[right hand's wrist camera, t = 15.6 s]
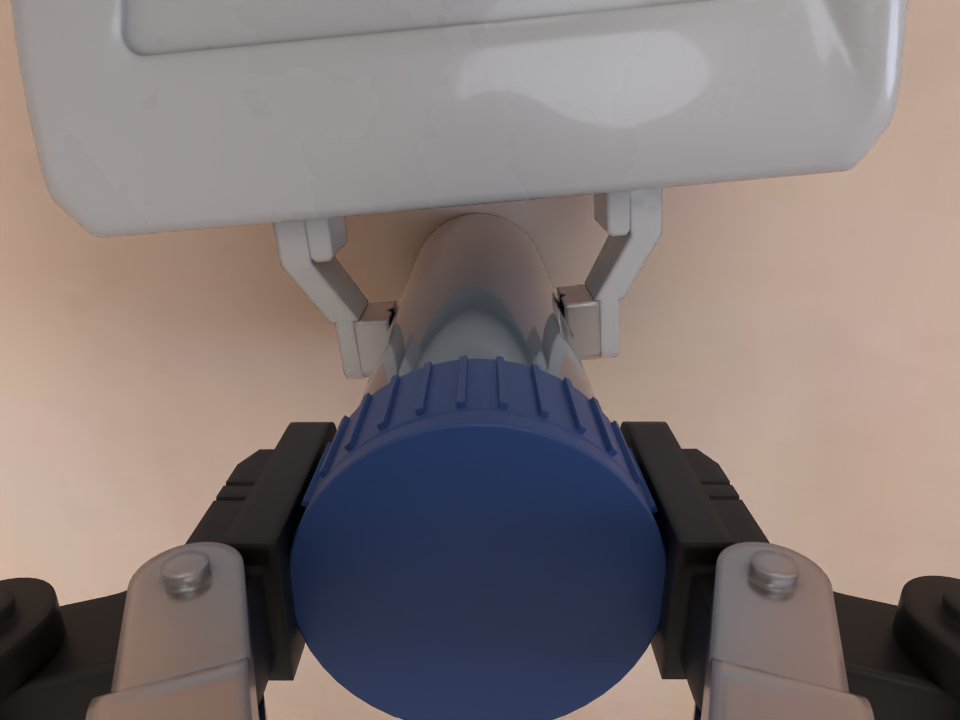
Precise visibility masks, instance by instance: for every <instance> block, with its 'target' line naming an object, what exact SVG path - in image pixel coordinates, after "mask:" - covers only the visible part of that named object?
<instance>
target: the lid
mask: <svg viewBox="0 0 960 720" xmlns="http://www.w3.org/2000/svg"><path fill="white" fill-rule="evenodd" d="M301 506H304V507H306V509H305V512H304V514H303V517H302V519H301V521H300V524H299V526H298V528H297V531H296V533H295V537H294V541H293V544H292V548H291V551H290V560H289V564H290V575H291V583H292V591H293V599H294V607H295V615H296V621H297V625H298V628H299V630H300V633H301V635H302V637H303V638H304V640H305V642H306V644H307V646H308V647H309V649H310V651H311V652H312V653H313V655H314V656H315V657H316V659H317V660H318V661H319V663H320V664H321V665H322V667H323V668H324V669H325V670H326V671H327V672H328V673H329V674H330V675H331V676H332V677H333V678H334V679H335V680H336V681H337V682H338V683H339V684H341V685H342V686H343V687H345V688H346V689H347V690H348V691H350V692H351V693H352V694H353V695H355V696H356V697H358V698H360V699H361V700H363V701H365V702H366V703H368V704H369V705H371V706H373V707H375V708H377V709H379V710H381V711H383V712H385V713H387V714H390V715H392V716H394V717H397V718H400V719H403V720H553V719H556V718H559V717H562V716H564V715H567V714H569V713H571V712H573V711H575V710H577V709H579V708H581V707H583V706H585V705H587V704H588V703H590V702H592V701H593V700H595V699H596V698H598V697H600V696H601V695H603V694H604V693H605V692H607V691H608V690H609V689H610V688H612V687H613V686H614V685H615V684H617V683H618V682H619V681H620V680H621V679H622V678H623V677H624V676H625V675H626V674H627V673H628V672H629V671H630V670H631V669H632V668H633V667H634V666H635V664H636V663H637V662H638V660H639V659H640V658H641V656H642V655H643V654H644V652H645V651H646V649H647V648H648V646H649V644H650V642H651V640H652V638H653V637H654V635H655V633H656V631H657V628H658V625H659V620H660V613H661V605H662V596H663V588H664V580H665V572H666V551H665V547H664V544H663V540H662V537H661V534H660V530H659V528H658V526H657V523H656V521H655V518H654V516H653V513H656V512H658V510H657V507H656V505H655V503H654V500H653V498H652V496H651V493H650V491H649V489H648V487H647V484H646V482H645V480H644V477H643V475H642V473H641V470H640V468H639V466H638V463H637V461H636V459H635V457H634V454H633V452H632V450H631V448H628V446H627V444H626V441H625V439H624V437H623V434H622V432H621V430H620V427H619V425H618V423H617V422H616V421H613V422H612V423H611V422H610V421H609V419H608V418H607V417H606V415H605V414H604V413H603V412H602V410H601V408H600V405H599V402H598V400H597V399H596V398H595V397H592V398H591V399H589V398H588V397H586V396H585V395H584V394H583V393H582V392H580V391H579V390H578V389H576V388H575V387H573V385H572V382H571V380H570V379H568V378H566V377H565V378H564V379H563V380H562V379H560V378H558V377H556V376H553V375H551V374H549V373H547V372H545V371H543V370H540V368H539V365H537V364H534V363H532V366H531V367H530V366H527V365H524V364H520V363H515V362H509V361H504V357H502V356H497V358H496V360H495V359H467V355H465V356H460V360H453V361H447V362H442V363H437V364H432V362H431V361H429V362H426V363H424V367H423V368H420V369H417V370H414V371H412V372H409V373H407V374H405V375H403V376H401V377H399V375H398V374H396V375H394V376H392V378H391V381H390V383H388V384H387V385H385V386H384V387H382V388H380V389H379V390H377V391H376V392H375V393H374V394H372V395H371V394H370V393H369V392H368V393H367V394H365V395H364V397H363V399H362V402H361V404H360V406H359V407H358V408H357V409H356V410H355V412H354V413H353V414H352V415H351V416H350V417H347V416H346V415H345V416H344V417H343V418H342V420H341V422H340V424H339V427H338V429H337V431H336V434H335V436H334V438H333V441H332V443H330V442H328V444H327V446H326V448H325V451H324V453H323V455H322V458H321V460H320V462H319V464H318V467H317V469H316V471H315V473H314V476H313V478H312V480H311V483H310V485H309V487H308V489H307V492H306V494H305V496H304V498H303V501H302V503H301Z"/></svg>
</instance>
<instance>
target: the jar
mask: <svg viewBox="0 0 960 720" xmlns="http://www.w3.org/2000/svg"><path fill="white" fill-rule="evenodd" d="M465 355H467V359H495V360H496V358H497V356H502V357H504V361H509V362H515V363H520V364H524V365H527V366H530V367H531V366H532V363H534V364H537V365H539V368H540V370H543V371H545V372H547V373H549V374H551V375H553V376H556V377H558V378H560V379H562V380H563V379H564V378H565V377H566V378H568V379H570V380H571V382H572V385H573V387H575V388H576V389H578V390H579V391H580V392H582V393H583V394H584V395H585V396H586V397H588V398H589V399H591V398H592V397H595V396H594V393H593V391H592V388H591V386H590V383H589V380H588V378H587V375H586V373H585V370H584V368H583V365H582V362H581V360H580V357H579V355H578V352H577V349H576V347H575V344H574V342H573V339H572V336H571V334H570V331H569V329H568V326H567V324H566V321H565V318H564V316H563V313H562V311H561V308H560V305H559V303H558V300H557V298H556V295H555V293H554V290H553V287H552V285H551V282H550V280H549V277H548V274H547V272H546V269H545V267H544V264H543V261H542V259H541V256H540V254H539V252H538V250H537V247H536V246H535V244H534V243H533V241H532V240H531V238H530V237H529V236H528V235H527V234H526V233H525V232H524V231H523V230H522V229H521V228H520V227H518V226H517V225H515V224H514V223H512V222H510V221H508V220H506V219H504V218H501V217H498V216H495V215H490V214H468V215H463V216H460V217H457V218H454V219H452V220H450V221H448V222H446V223H444V224H443V225H441V226H440V227H438V228H437V229H436V230H435V231H434V232H433V233H432V234H431V235H430V236H429V237H428V238H427V240H426V241H425V243H424V244H423V246H422V247H421V250H420V252H419V254H418V256H417V259H416V261H415V264H414V266H413V269H412V271H411V274H410V277H409V279H408V282H407V284H406V287H405V289H404V292H403V294H402V297H401V299H400V302H399V305H398V307H397V310H396V312H395V315H394V317H393V320H392V322H391V325H390V327H389V330H388V332H387V335H386V338H385V340H384V343H383V345H382V348H381V350H380V353H379V355H378V358H377V360H376V363H375V366H374V368H373V371H372V373H371V376H370V378H369V381H368V383H367V386H366V388H365V391H364V393H363V396H362V399H363V397H364V395H365V394H367V393H368V392H369V393H370V394H371V395H372V394H374V393H375V392H376V391H377V390H379V389H380V388H382V387H384V386H385V385H387V384H388V383H390V381H391V378H392V376H394V375H396V374H398V375H399V377H401V376H403V375H405V374H407V373H409V372H412V371H414V370H417V369H420V368H423V367H424V363H426V362H429V361H431V362H432V364H437V363H442V362H447V361H453V360H460V356H465ZM362 399H361V401H360V404H361V402H362ZM360 404H359V406H360ZM359 406H358V407H359Z"/></svg>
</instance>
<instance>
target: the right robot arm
mask: <svg viewBox="0 0 960 720" xmlns="http://www.w3.org/2000/svg"><path fill="white" fill-rule="evenodd" d="M620 430H621V432H622V434H623V437H624V439H625V441H626V444H627V446H628V448H631V450H632V452H633V454H634V457H635V459H636V461H637V463H638V466H639V468H640V470H641V473H642V475H643V477H644V480H645V482H646V484H647V487H648V489H649V491H650V493H651V496H652V498H653V500H654V503H655V505H656V507H657V510H658V512H656V513H653V516H654V518H655V521H656V523H657V526H658V528H659V530H660V534H661V537H662V540H663V544H664V547H665V551H666V572H665V580H664V588H663V596H662V605H661V613H660V620H659V625H658V628H657V631H656V633H655V635H654V637H653V638H652V640H651V645H652V648H653V652H654V655H655V658H656V661H657V664H658V668H659V671H660V674H661V677H662V679H687V681H688V684H689V687H690V689H691V692H692V695H693V698H694V701H695V706H694V713H693V720H960V579H956V578H951V577H944V576H922V577H918V578H914V579H912V580H910V581H908V582H907V583H906V584H905V585H904V587H903V589H902V593H901V596H900V600H899V603H898V606H896V605H891V604H887V603H882V602H877V601H872V600H868V599H863V598H858V597H854V596H849V595H845V594H841V593H837V592H834V591H833V590H832V585H831V582H830V580H829V578H828V576H827V575H826V574H825V572H824V571H823V570H822V569H821V568H820V567H819V566H818V565H817V564H815V563H814V562H813V561H811V560H810V559H808V558H807V557H805V556H803V555H801V554H800V553H797V552H795V551H793V550H791V549H788V548H785V547H782V546H778V545H774V544H770V543H769V541H768V540H767V538H766V537H765V535H764V533H763V532H762V530H761V529H760V527H759V526H758V524H757V523H756V521H755V520H754V518H753V516H752V515H751V513H750V512H749V510H748V509H747V507H746V506H745V504H744V503H743V501H742V500H739V495H738V493H737V492H736V490H735V489H734V487H733V486H732V485H730V481H729V480H728V478H727V476H726V475H725V473H724V472H723V470H722V469H721V467H720V466H719V464H718V463H716V462H715V461H713V460H712V459H710V458H709V457H708V456H706V455H705V454H703V453H702V452H700V451H699V450H697V449H681V447H680V445H679V444H678V442H677V440H676V438H675V437H674V435H673V433H672V431H671V430H670V428H669V426H668V425H667V423H666V422H623V423H622V424H621V427H620ZM336 431H337V430H336V426H335V424H334V423H333V422H291V423H290V424H289V426H288V427H287V429H286V431H285V432H284V434H283V436H282V438H281V439H280V441H279V443H278V444H277V446H276V448H275V450H258V451H257V452H255V453H254V454H252V455H251V456H249V457H248V458H247V459H245V460H244V461H242V462H241V463H239V464H238V465H237V466H236V468H235V469H234V471H233V472H232V474H231V476H230V477H229V479H228V480H227V482H226V486H223V488H222V489H221V491H220V492H219V494H218V495H217V497H216V501H213V503H212V504H211V506H210V507H209V509H208V510H207V512H206V513H205V515H204V516H203V518H202V520H201V521H200V523H199V524H198V526H197V527H196V529H195V530H194V532H193V533H192V535H191V536H190V538H189V539H188V541H187V542H186V544H185V545H182V546H178V547H175V548H172V549H169V550H167V551H165V552H163V553H160V554H159V555H157V556H155V557H153V558H152V559H150V560H149V561H147V562H146V563H145V564H143V565H142V566H141V567H140V568H139V569H138V570H137V571H136V572H135V574H134V575H133V576H132V578H131V580H130V582H129V585H128V590H127V591H124V592H121V593H118V594H114V595H110V596H106V597H102V598H97V599H92V600H88V601H83V602H78V603H73V604H69V605H64V606H59V603H58V600H57V596H56V593H55V590H54V588H53V587H52V586H51V585H50V584H49V583H47V582H45V581H43V580H40V579H36V578H13V579H6V580H1V581H0V720H267V713H266V706H265V700H264V691H265V688H266V685H267V683H268V680H294V677H295V674H296V670H297V667H298V664H299V661H300V658H301V655H302V652H303V648H304V645H305V640H304V638H303V637H302V635H301V633H300V630H299V628H298V625H297V621H296V615H295V607H294V599H293V591H292V583H291V575H290V564H289V560H290V551H291V548H292V544H293V541H294V537H295V533H296V531H297V528H298V526H299V524H300V521H301V519H302V517H303V514H304V512H305V509H306V507H304V506H301V503H302V501H303V498H304V496H305V494H306V492H307V489H308V487H309V485H310V483H311V480H312V478H313V476H314V473H315V471H316V469H317V467H318V464H319V462H320V460H321V458H322V455H323V453H324V451H325V448H326V446H327V444H328V442H330V443H332V441H333V438H334V436H335V434H336Z"/></svg>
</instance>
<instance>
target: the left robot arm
mask: <svg viewBox="0 0 960 720" xmlns="http://www.w3.org/2000/svg"><path fill="white" fill-rule="evenodd" d="M907 4H908V0H11V8H12V16H13V23H14V30H15V38H16V45H17V51H18V58H19V64H20V70H21V76H22V81H23V86H24V92H25V97H26V102H27V107H28V112H29V117H30V122H31V126H32V131H33V136H34V140H35V144H36V148H37V152H38V157H39V161H40V165H41V169H42V172H43V176H44V179H45V182H46V185H47V188H48V191H49V193H50V195H51V197H52V199H53V200H54V202H55V203H56V204H57V205H58V206H59V207H60V208H62V209H63V210H64V211H65V212H66V213H67V214H68V215H69V216H70V217H71V218H72V219H74V220H75V221H76V222H77V223H78V224H79V225H80V226H82V227H83V228H84V229H85V230H86V231H88V232H89V233H90V234H92V235H94V236H96V237H102V238H106V237H119V236H130V235H141V234H152V233H163V232H174V231H186V230H197V229H208V228H219V227H230V226H241V225H252V224H264V223H273V226H274V231H275V237H276V242H277V247H278V252H279V257H280V262H281V266H282V267H283V269H284V270H285V271H286V272H287V273H288V274H289V276H290V277H291V278H292V279H293V280H294V281H295V283H296V284H297V285H298V286H299V287H300V288H301V290H302V291H303V292H304V293H305V294H306V295H307V297H308V298H309V299H310V300H311V301H312V302H313V304H314V305H315V306H316V307H317V308H318V309H319V311H320V312H321V313H322V314H323V315H324V316H325V318H326V319H327V320H328V321H329V322H330V323H335V325H336V331H337V337H338V342H339V348H340V353H341V359H342V365H343V370H344V374H345V376H346V378H347V379H357V378H365V377H370V376H371V373H372V371H373V368H374V366H375V363H376V360H377V358H378V355H379V353H380V350H381V348H382V345H383V343H384V340H385V338H386V335H387V332H388V330H389V327H390V325H391V322H392V320H393V317H394V315H395V312H396V310H397V305H396V301H392V302H376V303H368V302H369V301H368V300H367V299H366V297H365V296H364V295H363V293H362V292H361V291H360V289H359V288H358V287H357V285H356V284H355V283H354V281H353V280H352V279H351V277H350V276H349V275H348V273H347V272H346V271H345V269H344V268H343V267H342V265H341V264H340V263H339V261H338V260H337V259H336V257H335V255H336V253H337V252H338V251H339V250H340V249H341V248H342V247H343V246H344V245H345V243H346V242H347V241H348V239H347V232H346V225H345V219H344V216H353V215H364V214H375V213H386V212H397V211H408V210H420V209H431V208H442V207H453V206H464V205H475V204H486V203H498V202H509V201H520V200H531V199H542V198H553V197H564V196H576V195H587V194H594V217H595V220H596V221H597V222H598V223H599V224H600V225H601V226H602V227H603V228H604V229H605V230H606V232H607V233H609V236H608V238H607V240H606V242H605V244H604V246H603V248H602V250H601V252H600V254H599V255H598V257H597V259H596V261H595V263H594V265H593V267H592V269H591V271H590V273H589V275H588V277H587V279H586V281H585V285H576V286H566V287H557V296H558V303H559V305H560V308H561V311H562V313H563V316H564V318H565V321H566V324H567V326H568V329H569V331H570V334H571V336H572V339H573V342H574V344H575V347H576V349H577V352H578V355H579V357H580V360H586V359H599V358H611V357H617V356H618V352H619V300H618V299H623V298H624V296H625V295H626V293H627V291H628V289H629V288H630V286H631V284H632V283H633V281H634V279H635V278H636V276H637V274H638V273H639V271H640V269H641V267H642V266H643V264H644V262H645V261H646V259H647V257H648V256H649V254H650V252H651V250H652V249H653V247H654V245H655V244H656V242H657V240H658V239H659V237H660V235H661V233H662V188H665V187H676V186H687V185H698V184H709V183H720V182H732V181H743V180H754V179H765V178H776V177H787V176H798V175H809V174H820V173H831V172H842V171H846V170H849V169H852V168H853V167H854V166H856V165H857V164H858V163H859V162H860V160H861V159H862V158H863V157H864V156H865V155H866V154H867V153H868V151H869V150H870V149H871V148H872V146H873V145H874V144H875V143H876V141H877V140H878V139H879V137H880V136H881V135H882V133H883V132H884V131H885V129H886V128H887V127H888V125H889V124H890V122H891V119H892V117H893V114H894V110H895V107H896V103H897V97H898V91H899V85H900V78H901V70H902V61H903V51H904V41H905V31H906V18H907Z"/></svg>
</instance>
